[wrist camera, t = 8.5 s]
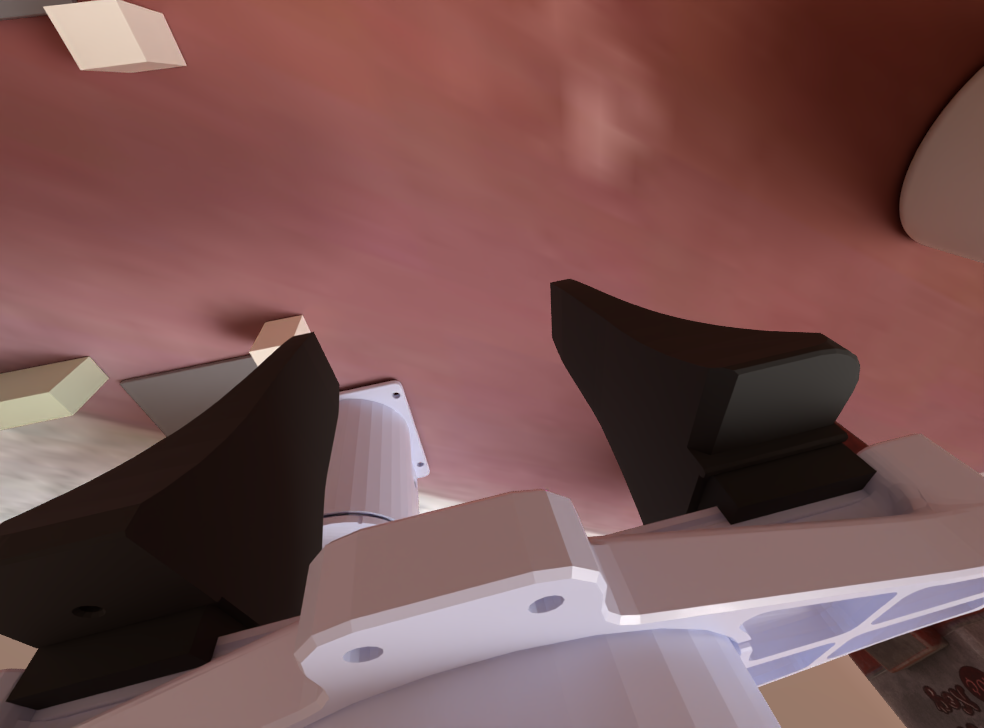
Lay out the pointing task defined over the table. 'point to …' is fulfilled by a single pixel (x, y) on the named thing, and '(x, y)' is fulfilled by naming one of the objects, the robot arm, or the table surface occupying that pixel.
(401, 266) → the table surface
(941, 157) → the cylinder vase
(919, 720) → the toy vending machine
